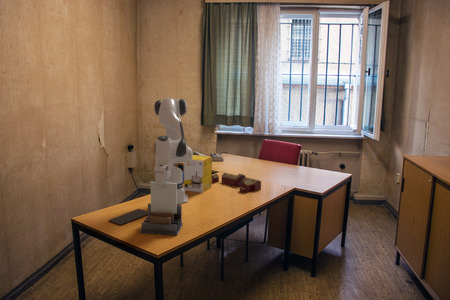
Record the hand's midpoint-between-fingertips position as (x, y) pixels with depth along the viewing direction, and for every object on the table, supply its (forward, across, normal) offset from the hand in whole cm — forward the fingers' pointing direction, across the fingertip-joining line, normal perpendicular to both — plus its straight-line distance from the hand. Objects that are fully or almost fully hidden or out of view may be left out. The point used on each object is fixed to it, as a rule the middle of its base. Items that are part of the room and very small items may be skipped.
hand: (163, 188), depth 210 cm
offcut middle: (+22, +4, 0) cm, 22 cm away
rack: (+23, +5, 0) cm, 23 cm away
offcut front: (+22, +8, 0) cm, 23 cm away
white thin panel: (+15, 0, 0) cm, 15 cm away
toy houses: (+24, -91, +34) cm, 100 cm away
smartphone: (+24, -9, -24) cm, 35 cm away
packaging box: (+24, -76, +7) cm, 80 cm away
